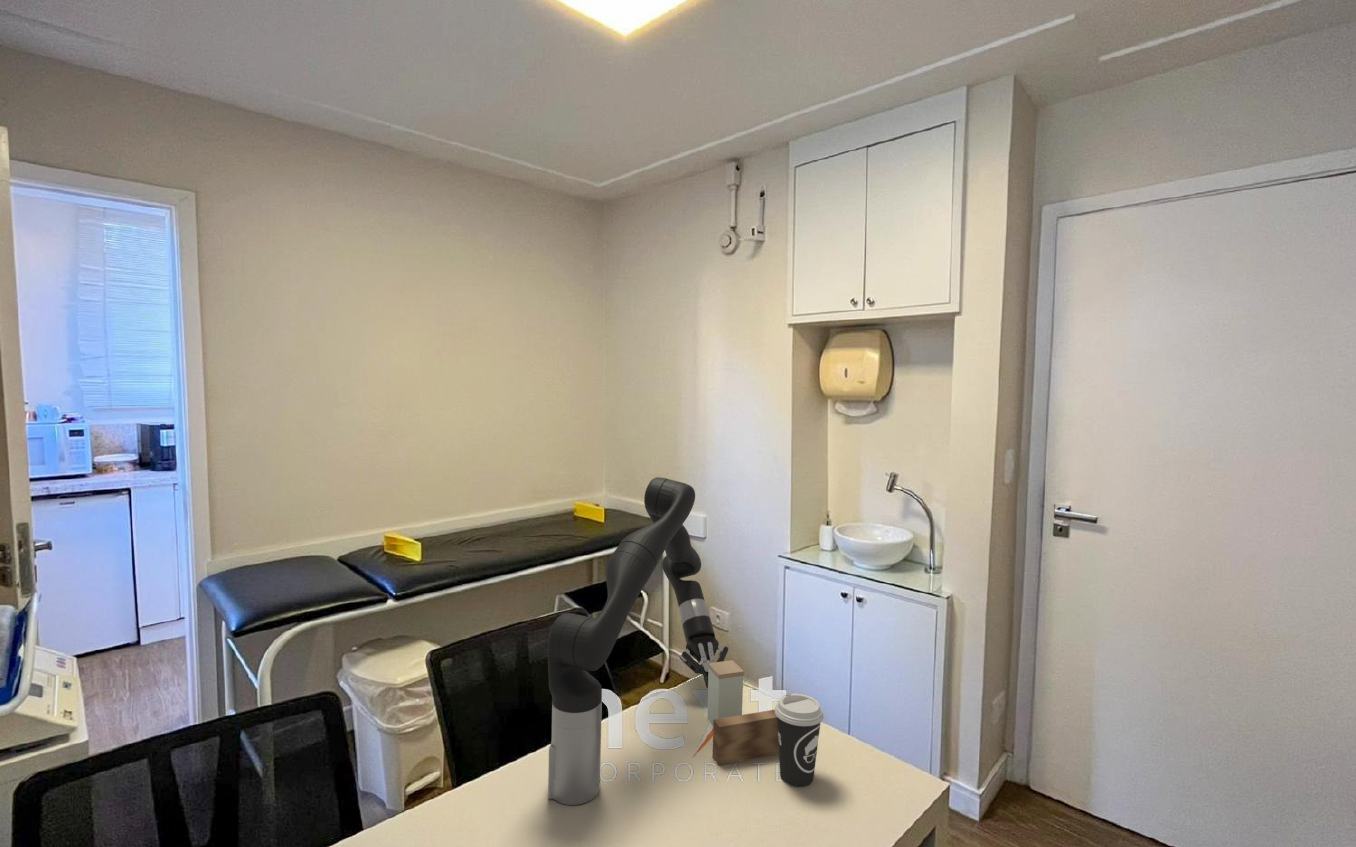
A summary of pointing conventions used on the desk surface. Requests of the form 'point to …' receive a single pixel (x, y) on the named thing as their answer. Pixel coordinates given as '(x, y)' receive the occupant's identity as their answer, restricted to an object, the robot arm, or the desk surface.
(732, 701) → the canister
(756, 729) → the board
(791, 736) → the coffee cup
